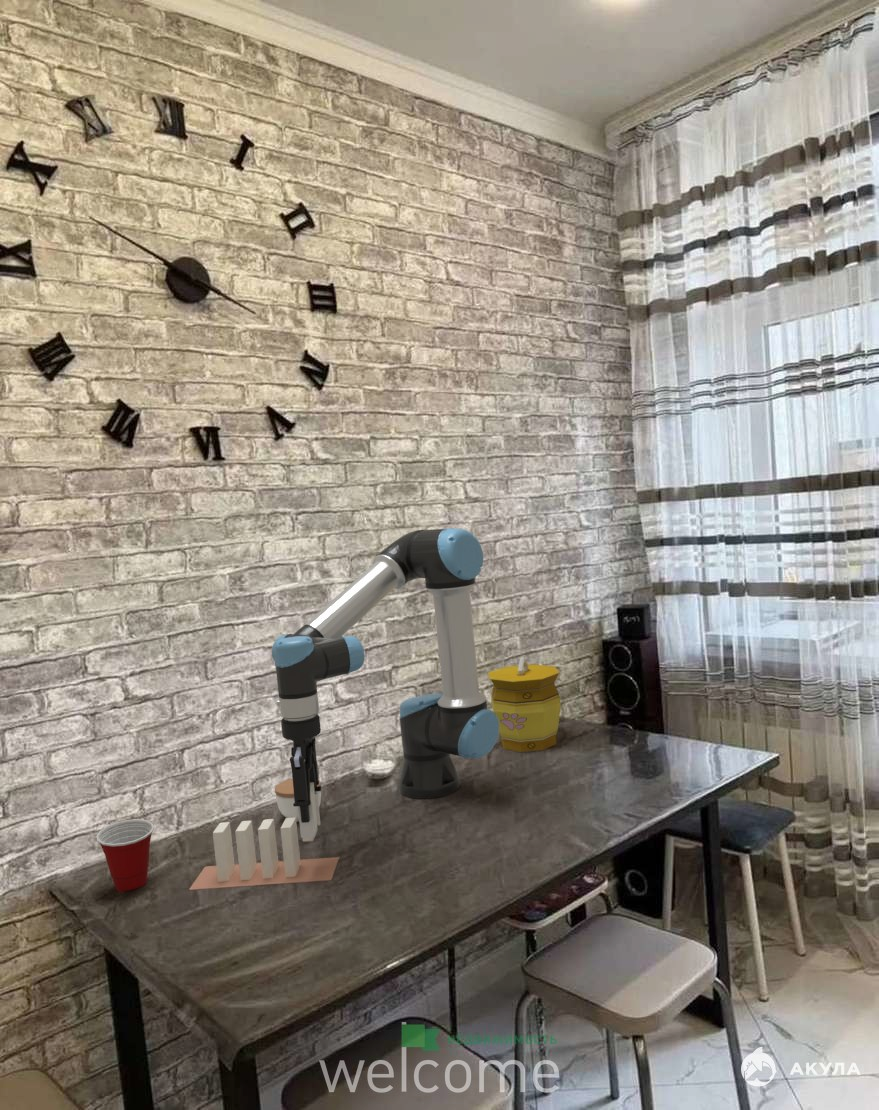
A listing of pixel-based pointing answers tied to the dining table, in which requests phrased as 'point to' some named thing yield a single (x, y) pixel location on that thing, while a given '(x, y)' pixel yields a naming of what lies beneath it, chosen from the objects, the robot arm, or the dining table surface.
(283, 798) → the lidded jar
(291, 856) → the domino
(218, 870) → the domino
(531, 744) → the container
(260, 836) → the domino
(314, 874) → the strip
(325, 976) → the dining table surface
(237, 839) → the domino
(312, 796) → the domino
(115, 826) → the plastic cup
